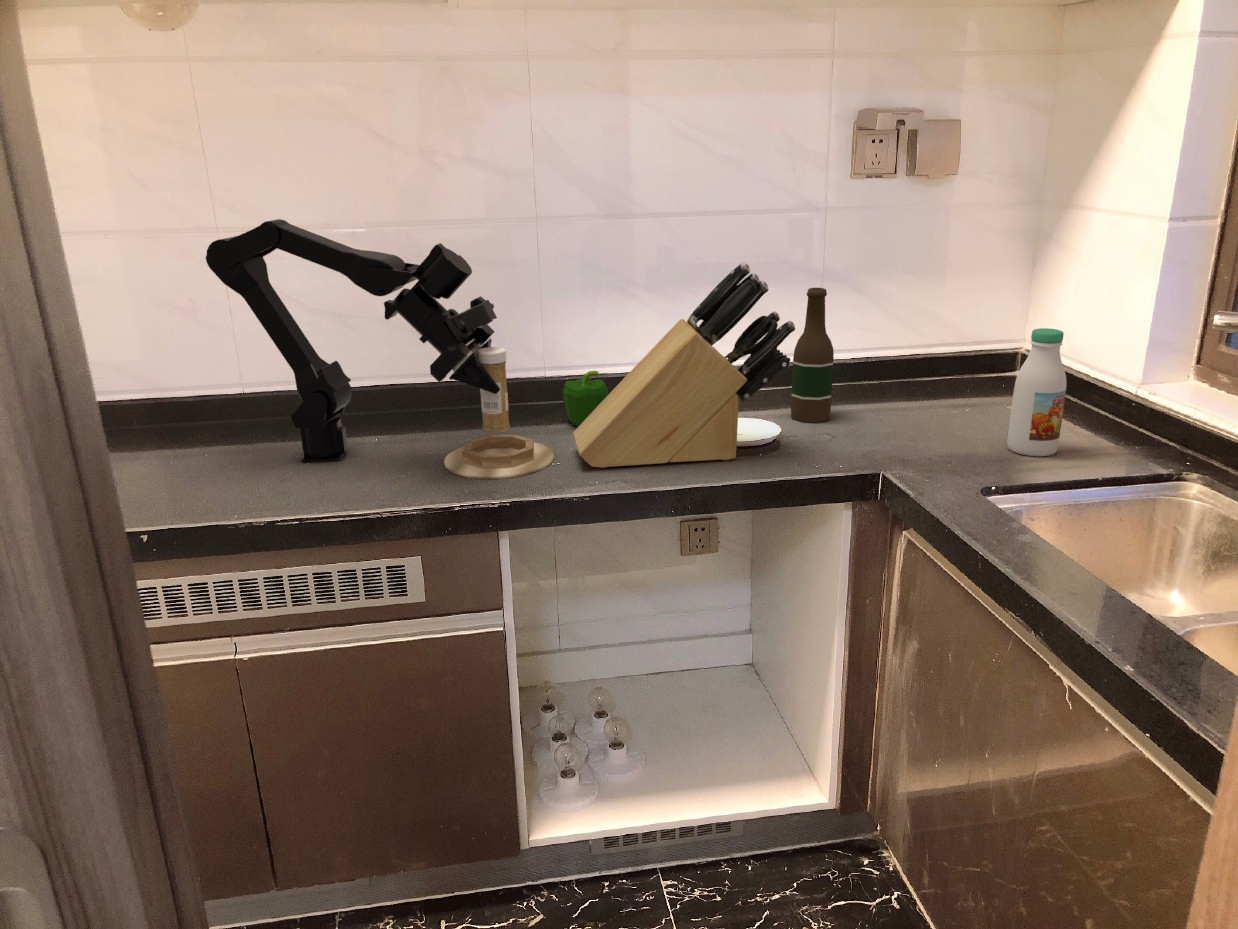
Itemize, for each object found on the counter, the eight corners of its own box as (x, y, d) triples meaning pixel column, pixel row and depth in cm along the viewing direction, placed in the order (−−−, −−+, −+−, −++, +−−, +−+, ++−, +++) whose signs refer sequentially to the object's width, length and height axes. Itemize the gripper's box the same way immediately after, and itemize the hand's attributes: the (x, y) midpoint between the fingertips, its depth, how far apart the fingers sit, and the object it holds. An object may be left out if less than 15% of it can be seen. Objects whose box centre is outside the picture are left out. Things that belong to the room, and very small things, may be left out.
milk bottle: (1007, 455, 150) (1022, 333, 143) (1005, 440, 156) (1020, 324, 150) (1058, 459, 147) (1077, 336, 140) (1055, 445, 154) (1072, 326, 147)
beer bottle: (800, 409, 177) (806, 284, 169) (838, 415, 172) (846, 287, 164) (782, 419, 171) (787, 289, 163) (821, 426, 166) (828, 293, 158)
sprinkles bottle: (515, 428, 151) (511, 347, 147) (498, 435, 148) (494, 353, 143) (493, 424, 154) (488, 345, 149) (476, 431, 150) (470, 350, 145)
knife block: (793, 458, 150) (802, 267, 140) (579, 472, 146) (572, 276, 136) (773, 437, 161) (779, 258, 151) (573, 450, 157) (566, 266, 146)
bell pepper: (556, 427, 169) (553, 374, 166) (573, 415, 176) (571, 364, 173) (598, 431, 166) (597, 378, 163) (614, 419, 173) (613, 367, 170)
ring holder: (438, 481, 143) (437, 465, 143) (450, 445, 160) (449, 431, 160) (553, 476, 144) (552, 461, 144) (553, 441, 161) (553, 427, 161)
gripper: (444, 293, 134) (521, 368, 137) (479, 274, 152) (546, 341, 154) (397, 345, 138) (473, 417, 140) (436, 321, 155) (503, 386, 158)
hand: (501, 388), depth 148 cm, fingers closed on sprinkles bottle, 4 cm apart
